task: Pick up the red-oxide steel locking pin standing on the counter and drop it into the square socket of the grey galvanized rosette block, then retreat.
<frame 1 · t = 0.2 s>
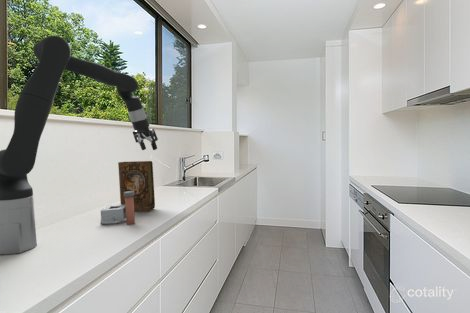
hand: (149, 149, 132), 31 cm above the worktop, tool tilted 20°, fingers open, 8 cm apart
book: (137, 210, 132), on the worktop
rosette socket: (115, 220, 115), on the worktop
pin: (130, 223, 110), on the worktop
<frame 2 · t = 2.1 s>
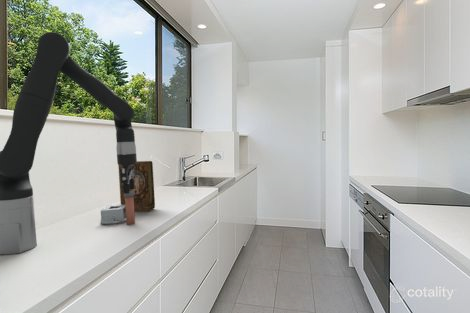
hand: (129, 191, 109), 14 cm above the worktop, tool pointing down, fingers open, 8 cm apart
nothing on the worktop moved.
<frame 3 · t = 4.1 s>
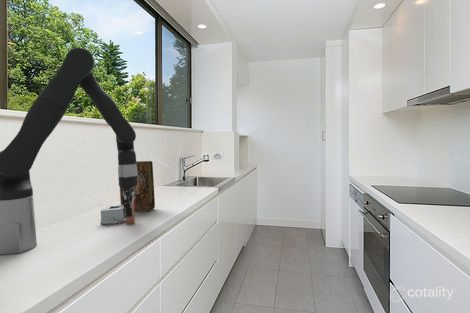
hand: (130, 215, 109), 4 cm above the worktop, tool pointing down, fingers closed on pin, 3 cm apart
pin: (130, 223, 110), on the worktop, touching gripper
everything else where it was.
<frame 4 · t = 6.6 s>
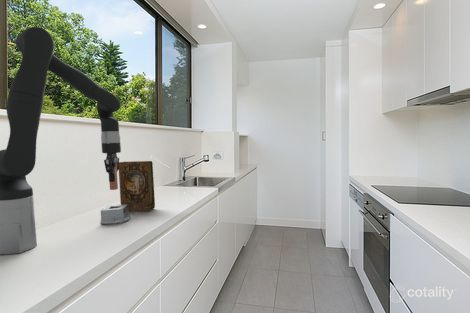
hand: (113, 181, 114), 18 cm above the worktop, tool pointing down, fingers closed on pin, 3 cm apart
pin: (113, 189, 114), point 14 cm above the worktop, touching gripper
everything else where it was.
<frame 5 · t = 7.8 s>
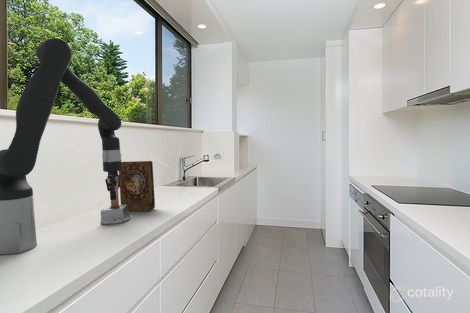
hand: (114, 198, 115), 10 cm above the worktop, tool pointing down, fingers closed on pin, 3 cm apart
pin: (115, 206, 115), point 6 cm above the worktop, touching gripper
everything else where it was.
when the fingers open (8 cm above the worktop, at t = 9.0 s): pin drops 2 cm, resting on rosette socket.
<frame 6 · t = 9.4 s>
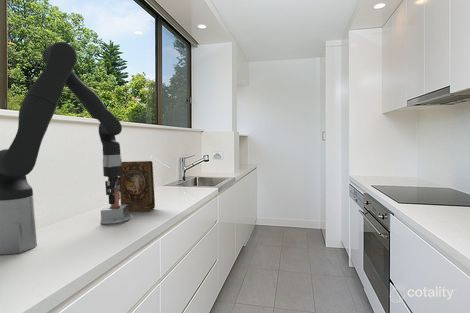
hand: (114, 202, 115), 8 cm above the worktop, tool pointing down, fingers open, 7 cm apart
pin: (115, 216, 115), point 2 cm above the worktop, touching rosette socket
everything else where it was.
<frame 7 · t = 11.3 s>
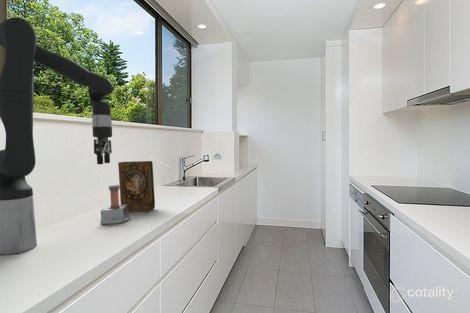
hand: (103, 163, 112), 26 cm above the worktop, tool pointing down, fingers open, 8 cm apart
nothing on the worktop moved.
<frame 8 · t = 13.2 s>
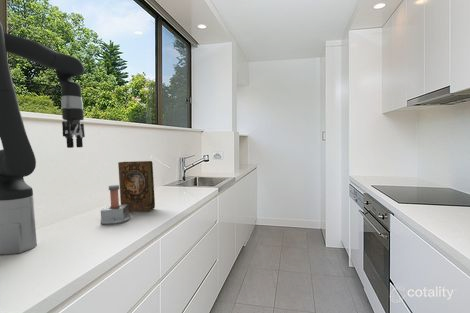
hand: (75, 147, 107), 33 cm above the worktop, tool pointing down, fingers open, 8 cm apart
nothing on the worktop moved.
at the end: pin 0.0 cm off-centre on the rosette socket, point 2.0 cm above the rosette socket's base; the gripper is holding nothing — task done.
